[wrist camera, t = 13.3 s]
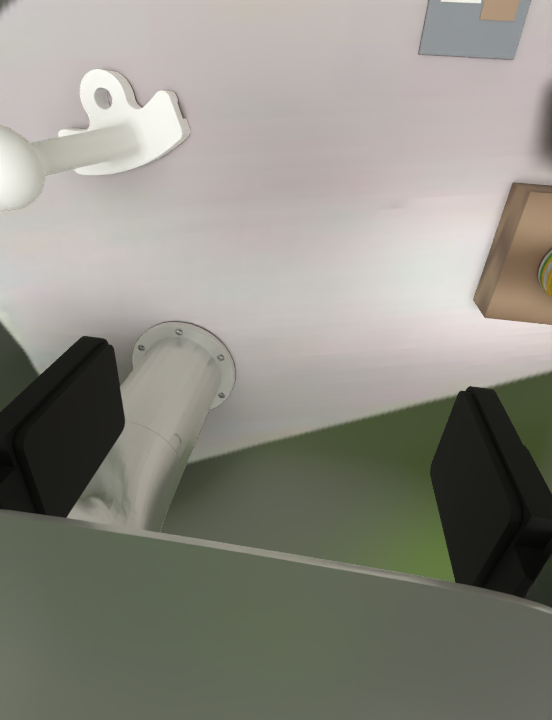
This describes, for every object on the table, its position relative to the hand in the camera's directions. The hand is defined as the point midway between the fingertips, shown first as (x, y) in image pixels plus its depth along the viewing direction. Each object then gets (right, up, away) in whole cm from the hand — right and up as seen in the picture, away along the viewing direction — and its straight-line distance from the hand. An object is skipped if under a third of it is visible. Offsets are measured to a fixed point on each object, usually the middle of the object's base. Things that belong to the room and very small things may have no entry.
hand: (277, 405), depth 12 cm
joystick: (-14, +23, +26) cm, 37 cm away
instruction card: (+15, +28, +18) cm, 36 cm away
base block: (+25, +11, +27) cm, 39 cm away
